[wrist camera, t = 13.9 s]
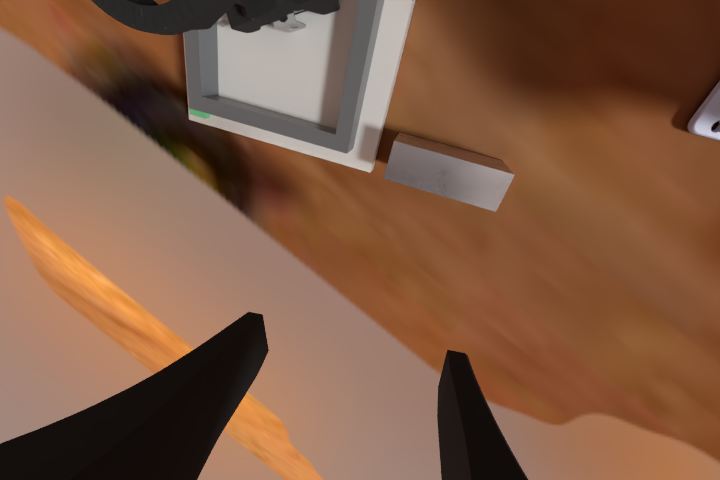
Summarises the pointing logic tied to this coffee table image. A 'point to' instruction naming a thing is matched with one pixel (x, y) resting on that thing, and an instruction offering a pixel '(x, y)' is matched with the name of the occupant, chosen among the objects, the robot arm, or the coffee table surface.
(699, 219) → the coffee table surface
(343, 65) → the port dock
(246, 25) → the push button
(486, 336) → the coffee table surface
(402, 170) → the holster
